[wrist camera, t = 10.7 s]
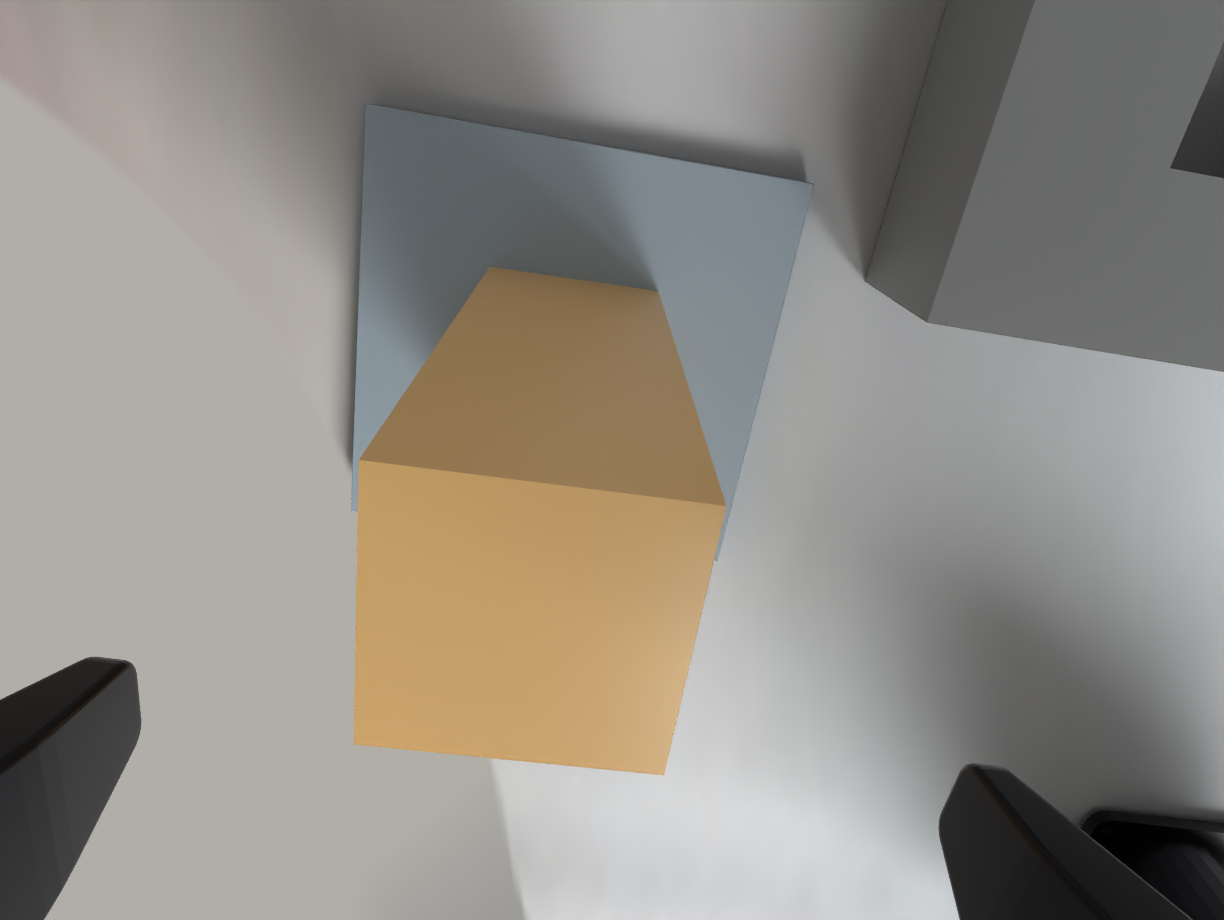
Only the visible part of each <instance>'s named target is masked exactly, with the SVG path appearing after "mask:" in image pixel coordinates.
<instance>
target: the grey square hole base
mask: <svg viewBox="0 0 1224 920" xmlns="http://www.w3.org/2000/svg"><path fill="white" fill-rule="evenodd" d="M1223 43H1224V0H948V3H947V6H946V10H945V13H944V16H943V20H942V23H941V26H940V30H939V33H938V37H937V40H936V43H935V47H934V50H933V53H932V57H931V60H930V64H929V67H928V70H927V74H926V77H925V80H924V84H923V87H922V91H921V94H920V97H919V101H918V104H917V107H916V111H915V114H914V117H913V121H912V124H911V128H910V131H909V134H908V138H907V141H906V144H905V148H904V151H903V155H902V158H901V161H900V165H899V168H898V171H897V175H896V178H895V182H894V185H893V188H892V192H891V195H890V198H889V202H888V205H887V209H886V212H885V215H884V219H883V222H882V225H881V229H880V232H879V236H878V239H877V242H876V246H875V249H874V252H873V256H872V259H871V263H870V266H869V269H868V273H867V276H866V279H865V282H867V283H868V284H870V285H871V286H873V287H874V288H876V289H877V290H879V291H880V292H882V293H883V294H885V295H886V296H888V297H889V298H891V299H892V300H894V301H895V302H897V303H898V304H900V305H901V306H903V307H904V308H906V309H907V310H909V311H910V312H912V313H913V314H915V315H916V316H918V317H919V318H921V319H922V320H924V321H925V322H927V323H933V324H939V325H945V326H951V327H957V328H963V329H969V330H975V331H981V332H987V333H993V334H999V335H1005V336H1011V337H1017V338H1023V339H1029V340H1035V341H1041V342H1047V343H1053V344H1059V345H1065V346H1071V347H1077V348H1083V349H1089V350H1095V351H1101V352H1107V353H1113V354H1120V355H1126V356H1132V357H1138V358H1144V359H1150V360H1156V361H1162V362H1168V363H1174V364H1180V365H1186V366H1192V367H1198V368H1204V369H1210V370H1216V371H1222V372H1224V178H1220V177H1215V176H1209V175H1204V174H1199V173H1193V172H1188V171H1183V170H1177V169H1172V168H1170V167H1171V165H1172V162H1173V160H1174V158H1175V155H1176V153H1177V151H1178V148H1179V146H1180V144H1181V141H1182V139H1183V137H1184V134H1185V132H1186V130H1187V127H1188V125H1189V123H1190V120H1191V118H1192V116H1193V113H1194V111H1195V109H1196V106H1197V104H1198V102H1199V99H1200V97H1201V95H1202V92H1203V90H1204V88H1205V85H1206V83H1207V81H1208V78H1209V76H1210V74H1211V71H1212V69H1213V67H1214V64H1215V62H1216V60H1217V57H1218V55H1219V53H1220V50H1221V48H1222V46H1223Z"/></svg>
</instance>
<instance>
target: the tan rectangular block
mask: <svg viewBox="0 0 1224 920" xmlns="http://www.w3.org/2000/svg"><path fill="white" fill-rule="evenodd" d="M725 510H726V503H725V500H724V497H723V493H722V490H721V487H720V484H719V481H718V478H717V474H716V471H715V468H714V465H713V462H712V459H711V456H710V452H709V449H708V446H707V443H706V440H705V437H704V433H703V430H702V427H701V424H700V421H699V418H698V415H697V411H696V408H695V405H694V402H693V399H692V396H691V392H690V389H689V386H688V383H687V380H686V377H685V374H684V370H683V367H682V364H681V361H680V358H679V355H678V352H677V348H676V345H675V342H674V339H673V336H672V333H671V329H670V326H669V323H668V320H667V317H666V314H665V311H664V307H663V304H662V301H661V298H660V295H659V292H658V291H654V290H647V289H640V288H633V287H626V286H619V285H612V284H606V283H599V282H592V281H585V280H578V279H571V278H564V277H557V276H550V275H543V274H536V273H529V272H523V271H516V270H509V269H502V268H495V267H489V269H488V270H487V272H486V273H485V275H484V276H483V278H482V279H481V280H480V282H479V283H478V285H477V286H476V288H475V289H474V291H473V292H472V294H471V295H470V297H469V298H468V300H467V301H466V303H465V304H464V306H463V307H462V308H461V310H460V311H459V313H458V314H457V316H456V317H455V319H454V320H453V322H452V323H451V325H450V326H449V328H448V329H447V331H446V332H445V334H444V335H443V336H442V338H441V339H440V341H439V342H438V344H437V345H436V347H435V348H434V350H433V351H432V353H431V354H430V356H429V357H428V359H427V360H426V362H425V363H424V364H423V366H422V367H421V369H420V370H419V372H418V373H417V375H416V376H415V378H414V379H413V381H412V382H411V384H410V385H409V387H408V388H407V390H406V391H405V393H404V394H403V395H402V397H401V398H400V400H399V401H398V403H397V404H396V406H395V407H394V409H393V410H392V412H391V413H390V415H389V416H388V418H387V419H386V421H385V422H384V423H383V425H382V426H381V428H380V429H379V431H378V432H377V434H376V435H375V437H374V438H373V440H372V441H371V443H370V444H369V446H368V447H367V449H366V450H365V451H364V453H363V454H362V456H361V457H360V459H359V473H358V531H357V533H358V534H357V590H356V591H357V592H356V595H357V596H356V648H355V706H354V711H355V712H354V744H355V745H364V746H375V747H385V748H395V749H405V750H415V751H426V752H435V753H445V754H455V755H465V756H476V757H485V758H495V759H506V760H516V761H526V762H536V763H546V764H556V765H566V766H576V767H586V768H596V769H606V770H617V771H627V772H637V773H647V774H657V775H664V773H665V769H666V764H667V760H668V756H669V751H670V747H671V743H672V739H673V734H674V730H675V726H676V721H677V717H678V713H679V708H680V704H681V700H682V696H683V691H684V687H685V683H686V678H687V674H688V670H689V665H690V661H691V657H692V652H693V648H694V644H695V640H696V635H697V631H698V627H699V622H700V618H701V614H702V609H703V605H704V601H705V597H706V592H707V588H708V584H709V579H710V575H711V571H712V566H713V562H714V558H715V553H716V549H717V545H718V541H719V536H720V532H721V528H722V523H723V519H724V515H725Z"/></svg>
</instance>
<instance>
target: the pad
mask: <svg viewBox="0 0 1224 920" xmlns="http://www.w3.org/2000/svg"><path fill="white" fill-rule="evenodd" d="M813 186H814V184H811V183H809V182H804V181H799V180H793V179H787V178H782V177H776V176H771V175H765V174H759V173H754V172H748V171H743V170H737V169H731V168H726V167H720V166H715V165H709V164H703V163H698V162H692V161H687V160H681V159H675V158H670V157H664V156H659V155H653V154H648V153H642V152H636V151H631V150H625V149H620V148H614V147H608V146H603V145H597V144H592V143H586V142H580V141H575V140H569V139H564V138H558V137H552V136H547V135H541V134H536V133H530V132H525V131H519V130H513V129H508V128H502V127H497V126H491V125H485V124H480V123H474V122H469V121H463V120H457V119H452V118H446V117H441V116H435V115H429V114H424V113H418V112H413V111H407V110H401V109H396V108H390V107H385V106H379V105H374V104H366V105H365V133H364V161H363V189H362V217H361V245H360V273H359V301H358V329H357V357H356V385H355V413H354V441H353V469H352V497H351V511H358V473H359V459H360V457H361V456H362V454H363V453H364V451H365V450H366V449H367V447H368V446H369V444H370V443H371V441H372V440H373V438H374V437H375V435H376V434H377V432H378V431H379V429H380V428H381V426H382V425H383V423H384V422H385V421H386V419H387V418H388V416H389V415H390V413H391V412H392V410H393V409H394V407H395V406H396V404H397V403H398V401H399V400H400V398H401V397H402V395H403V394H404V393H405V391H406V390H407V388H408V387H409V385H410V384H411V382H412V381H413V379H414V378H415V376H416V375H417V373H418V372H419V370H420V369H421V367H422V366H423V364H424V363H425V362H426V360H427V359H428V357H429V356H430V354H431V353H432V351H433V350H434V348H435V347H436V345H437V344H438V342H439V341H440V339H441V338H442V336H443V335H444V334H445V332H446V331H447V329H448V328H449V326H450V325H451V323H452V322H453V320H454V319H455V317H456V316H457V314H458V313H459V311H460V310H461V308H462V307H463V306H464V304H465V303H466V301H467V300H468V298H469V297H470V295H471V294H472V292H473V291H474V289H475V288H476V286H477V285H478V283H479V282H480V280H481V279H482V278H483V276H484V275H485V273H486V272H487V270H488V269H489V267H495V268H502V269H509V270H516V271H523V272H529V273H536V274H543V275H550V276H557V277H564V278H571V279H578V280H585V281H592V282H599V283H606V284H612V285H619V286H626V287H633V288H640V289H647V290H654V291H658V292H659V295H660V298H661V301H662V304H663V307H664V311H665V314H666V317H667V320H668V323H669V326H670V329H671V333H672V336H673V339H674V342H675V345H676V348H677V352H678V355H679V358H680V361H681V364H682V367H683V370H684V374H685V377H686V380H687V383H688V386H689V389H690V392H691V396H692V399H693V402H694V405H695V408H696V411H697V415H698V418H699V421H700V424H701V427H702V430H703V433H704V437H705V440H706V443H707V446H708V449H709V452H710V456H711V459H712V462H713V465H714V468H715V471H716V474H717V478H718V481H719V484H720V487H721V490H722V493H723V497H724V500H725V503H726V510H725V515H724V519H723V523H722V528H721V532H720V536H719V541H718V545H717V549H716V553H715V558H714V560H715V561H717V559H718V555H719V552H720V548H721V544H722V540H723V536H724V532H725V528H726V524H727V521H728V517H729V513H730V509H731V505H732V501H733V497H734V493H735V489H736V486H737V482H738V478H739V474H740V470H741V466H742V462H743V458H744V454H745V451H746V447H747V443H748V439H749V435H750V431H751V427H752V423H753V419H754V416H755V412H756V408H757V404H758V400H759V396H760V392H761V388H762V385H763V381H764V377H765V373H766V369H767V365H768V361H769V357H770V353H771V350H772V346H773V342H774V338H775V334H776V330H777V326H778V322H779V318H780V315H781V311H782V307H783V303H784V299H785V295H786V291H787V287H788V284H789V280H790V276H791V272H792V268H793V264H794V260H795V256H796V252H797V249H798V245H799V241H800V237H801V233H802V229H803V225H804V221H805V217H806V214H807V210H808V206H809V202H810V198H811V194H812V190H813Z"/></svg>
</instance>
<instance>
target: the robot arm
mask: <svg viewBox="0 0 1224 920" xmlns="http://www.w3.org/2000/svg"><path fill="white" fill-rule="evenodd" d="M140 730H141V712H140V702H139V693H138V682H137V673H136V669H135V667H134V666H133V664H132V663H131V662H128V661H126V660H119V659H111V658H102V657H89V658H86V659H83V660H81V661H79V662H77V663H74V664H72V665H71V666H68V667H66V668H64V669H63V670H60V671H58V672H56V673H54V674H52V675H50V676H48V677H46V678H44V679H42V680H40V681H38V682H36V683H34V684H31V685H29V686H27V687H25V688H23V689H21V690H19V691H17V692H15V693H13V694H11V695H9V696H7V697H5V698H3V699H1V700H0V920H44V919H45V917H46V916H47V914H48V912H49V911H50V909H51V907H52V906H53V904H54V902H55V901H56V899H57V897H58V896H59V894H60V892H61V891H62V889H63V887H64V885H65V883H66V882H67V880H68V878H69V876H70V874H71V872H72V871H73V868H74V866H75V865H76V863H77V861H78V859H79V857H80V855H81V853H82V851H83V849H84V847H85V845H86V843H87V841H88V839H89V837H90V835H91V833H92V831H93V829H94V827H95V825H96V823H97V821H98V819H99V817H100V815H101V813H102V811H103V810H104V807H105V806H106V804H107V802H108V799H109V798H110V796H111V794H112V792H113V790H114V788H115V786H116V784H117V782H118V780H119V778H120V776H121V774H122V772H123V770H124V768H125V766H126V764H127V762H128V760H129V758H130V756H131V754H132V752H133V750H134V748H135V746H136V744H137V741H138V738H139V734H140ZM939 836H940V841H941V845H942V849H943V854H944V858H945V862H946V866H947V870H948V874H949V878H950V882H951V886H952V890H953V894H954V898H955V902H956V906H957V910H958V914H959V919H960V920H1224V824H1218V823H1209V822H1201V821H1192V820H1184V819H1175V818H1166V817H1158V816H1149V815H1140V814H1132V813H1123V812H1114V811H1099V812H1096V813H1094V814H1093V815H1091V816H1090V817H1089V818H1088V819H1087V821H1086V823H1085V824H1084V826H1083V828H1082V830H1081V829H1080V828H1079V827H1078V826H1076V825H1075V824H1074V823H1073V822H1071V821H1070V820H1069V819H1068V818H1066V817H1065V816H1064V815H1063V814H1062V813H1060V812H1059V811H1058V810H1057V809H1055V808H1054V807H1053V806H1052V805H1050V804H1049V803H1048V802H1047V801H1045V800H1044V799H1043V798H1042V797H1041V796H1039V795H1038V794H1037V793H1036V792H1034V791H1033V790H1032V789H1031V788H1029V787H1028V786H1027V785H1026V784H1024V783H1023V782H1022V781H1021V780H1020V779H1018V778H1017V777H1016V776H1015V775H1013V774H1012V773H1011V772H1010V771H1008V770H1007V769H1005V768H1002V767H999V766H991V765H983V764H975V763H972V764H967V765H966V766H965V767H963V768H962V769H961V771H960V773H959V775H958V777H957V779H956V781H955V784H954V786H953V788H952V790H951V792H950V794H949V797H948V799H947V801H946V803H945V805H944V807H943V810H942V812H941V815H940V819H939Z"/></svg>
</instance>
